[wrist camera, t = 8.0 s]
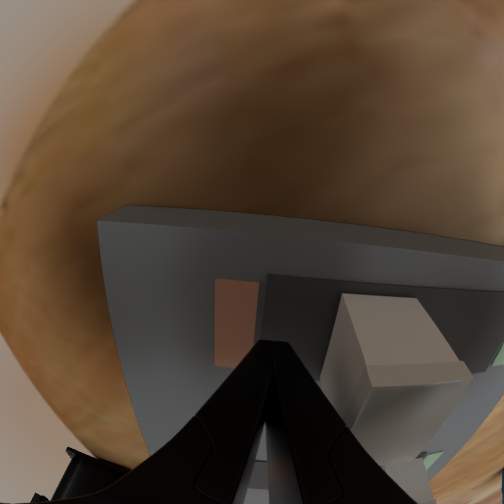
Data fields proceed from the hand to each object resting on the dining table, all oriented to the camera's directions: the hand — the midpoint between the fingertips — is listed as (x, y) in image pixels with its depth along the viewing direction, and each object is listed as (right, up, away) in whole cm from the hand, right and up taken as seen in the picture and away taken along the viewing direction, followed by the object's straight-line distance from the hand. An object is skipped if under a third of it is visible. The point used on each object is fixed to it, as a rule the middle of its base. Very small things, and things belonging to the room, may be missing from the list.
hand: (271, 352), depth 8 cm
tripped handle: (+3, 0, +1) cm, 3 cm away
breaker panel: (+3, -10, +7) cm, 12 cm away
